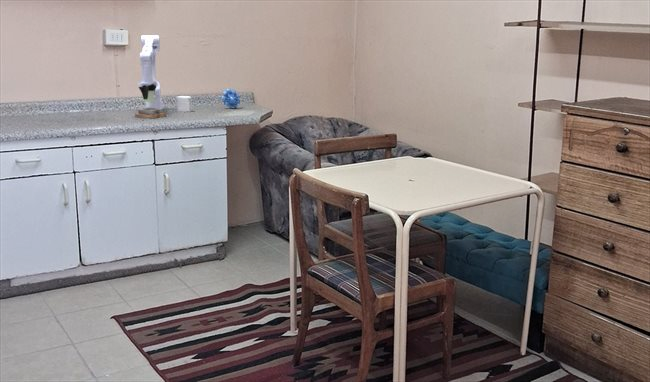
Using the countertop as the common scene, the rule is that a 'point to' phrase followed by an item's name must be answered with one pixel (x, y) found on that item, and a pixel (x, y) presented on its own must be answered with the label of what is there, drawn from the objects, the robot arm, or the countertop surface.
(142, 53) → the robot arm
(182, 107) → the medicine box
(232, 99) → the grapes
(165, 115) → the tower base
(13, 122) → the countertop surface
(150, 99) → the green block
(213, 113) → the countertop surface
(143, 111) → the tower top
